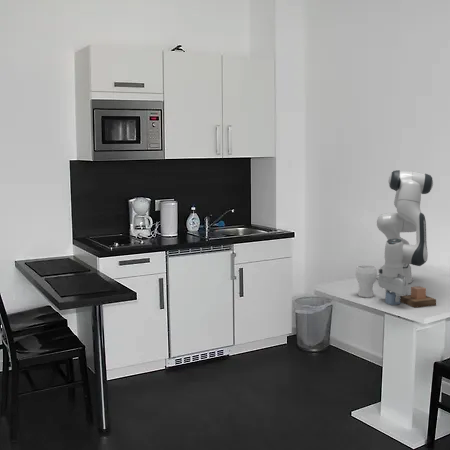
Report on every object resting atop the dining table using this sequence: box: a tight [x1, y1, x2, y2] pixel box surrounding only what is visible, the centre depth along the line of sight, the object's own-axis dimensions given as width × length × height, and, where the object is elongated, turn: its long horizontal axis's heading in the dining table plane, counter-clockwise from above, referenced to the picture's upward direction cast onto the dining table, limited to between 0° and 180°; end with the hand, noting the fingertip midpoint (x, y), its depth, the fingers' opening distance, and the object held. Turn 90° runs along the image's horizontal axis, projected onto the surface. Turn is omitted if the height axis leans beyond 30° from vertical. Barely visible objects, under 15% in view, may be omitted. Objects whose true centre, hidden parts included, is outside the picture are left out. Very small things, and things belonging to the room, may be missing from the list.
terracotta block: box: [410, 285, 427, 299], centre depth 301 cm, size 5×5×5 cm
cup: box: [355, 264, 378, 298], centre depth 318 cm, size 11×11×15 cm
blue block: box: [385, 291, 401, 306], centre depth 303 cm, size 5×5×5 cm
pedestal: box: [400, 294, 437, 309], centre depth 302 cm, size 12×12×3 cm
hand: (392, 300), depth 303 cm, fingers closed on blue block, 5 cm apart
